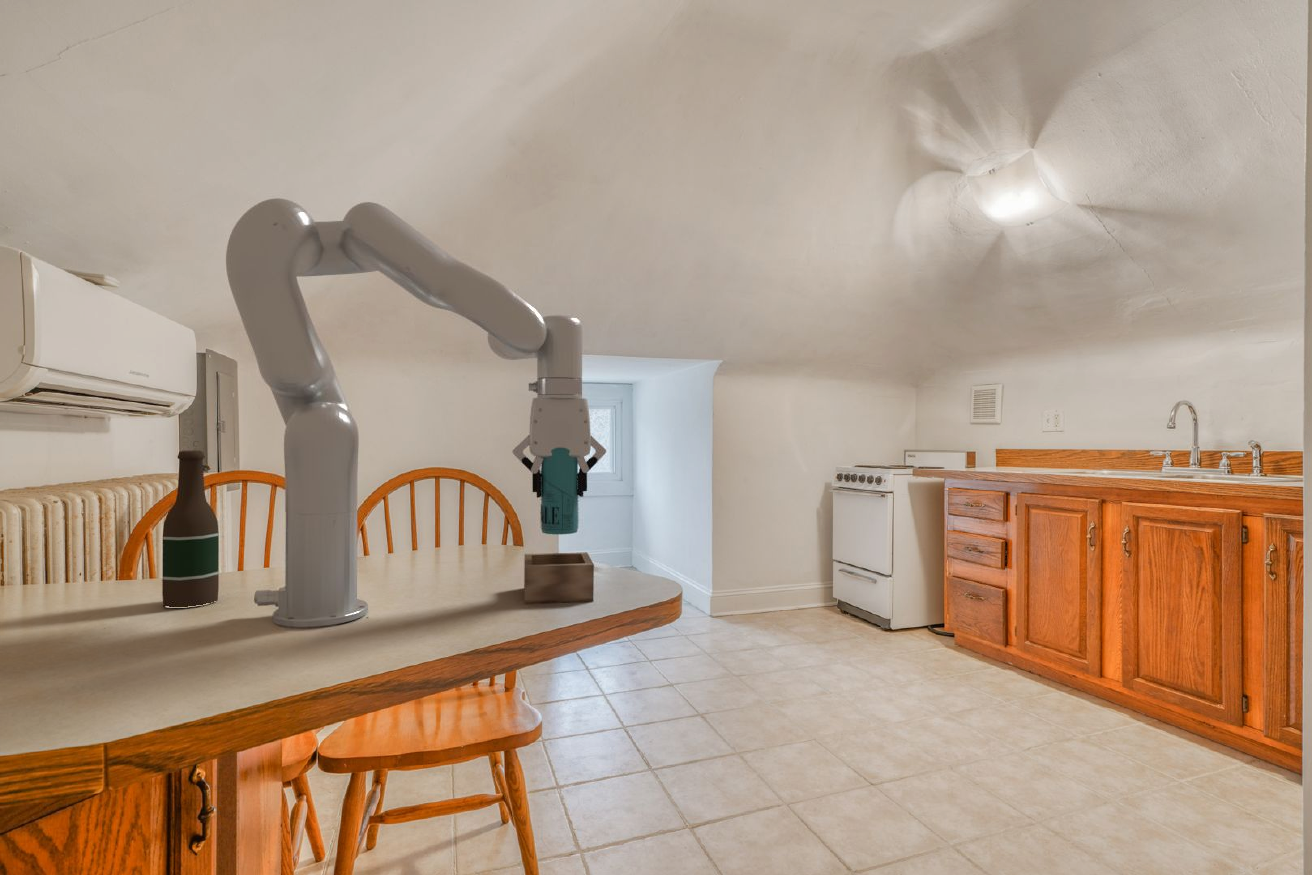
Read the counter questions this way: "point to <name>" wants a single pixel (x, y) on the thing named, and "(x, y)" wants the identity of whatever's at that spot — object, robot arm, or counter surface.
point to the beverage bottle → (559, 493)
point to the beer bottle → (190, 540)
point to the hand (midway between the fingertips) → (559, 495)
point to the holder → (558, 577)
